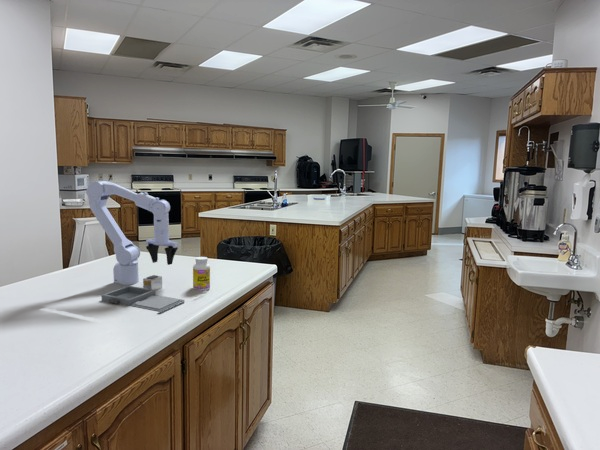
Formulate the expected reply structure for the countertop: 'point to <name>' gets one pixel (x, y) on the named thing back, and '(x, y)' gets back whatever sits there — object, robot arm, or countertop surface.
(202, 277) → the supplement bottle
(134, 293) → the case
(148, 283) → the block
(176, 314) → the countertop surface
